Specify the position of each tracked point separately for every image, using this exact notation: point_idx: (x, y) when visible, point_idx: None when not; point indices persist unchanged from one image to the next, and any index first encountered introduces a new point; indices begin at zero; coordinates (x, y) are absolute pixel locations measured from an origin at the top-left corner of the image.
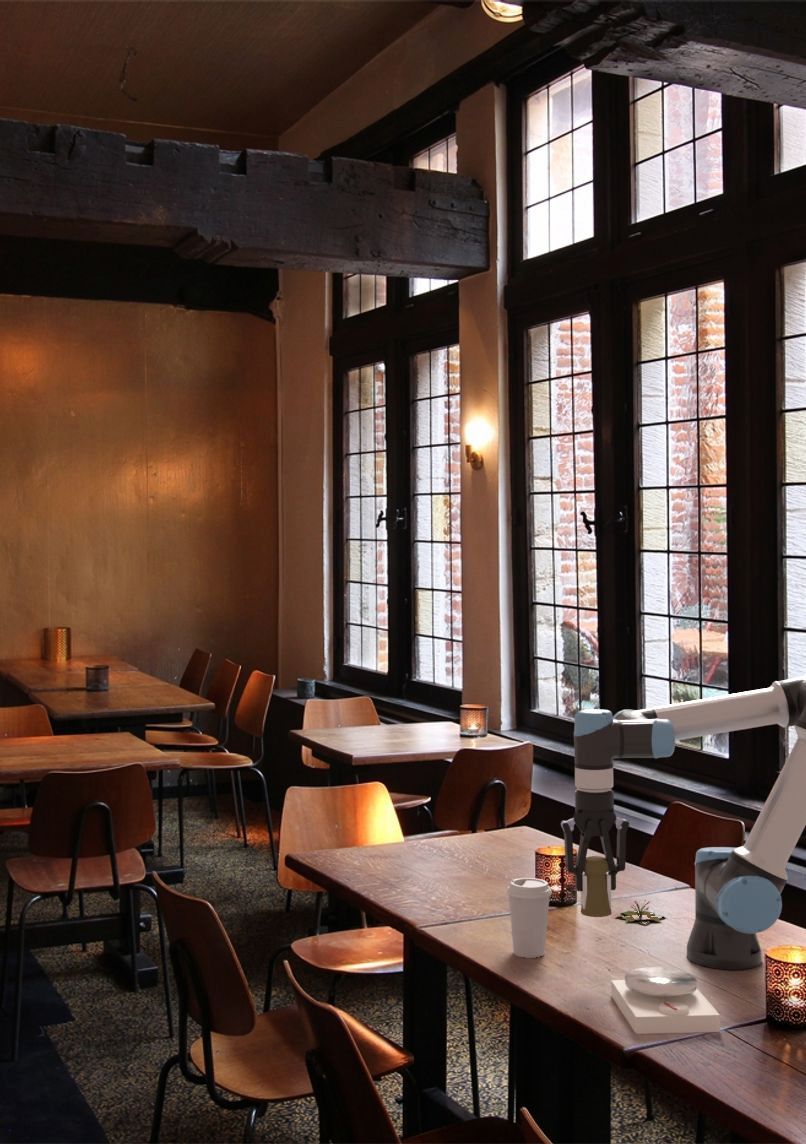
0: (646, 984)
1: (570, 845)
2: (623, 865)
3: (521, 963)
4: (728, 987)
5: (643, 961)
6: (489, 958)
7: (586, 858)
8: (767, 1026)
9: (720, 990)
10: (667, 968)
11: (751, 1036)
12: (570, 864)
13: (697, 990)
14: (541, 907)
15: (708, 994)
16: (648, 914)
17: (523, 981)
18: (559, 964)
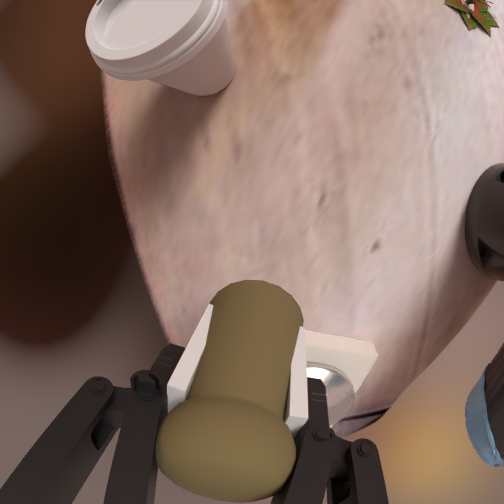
0: None
1: (60, 498)
2: (344, 483)
3: (169, 121)
4: (434, 328)
5: (404, 179)
6: (129, 88)
7: (166, 472)
8: (374, 421)
9: (418, 336)
10: (341, 379)
11: (341, 433)
12: (96, 435)
13: (354, 391)
14: (179, 73)
15: (395, 345)
16: (479, 3)
17: (144, 216)
18: (238, 141)
